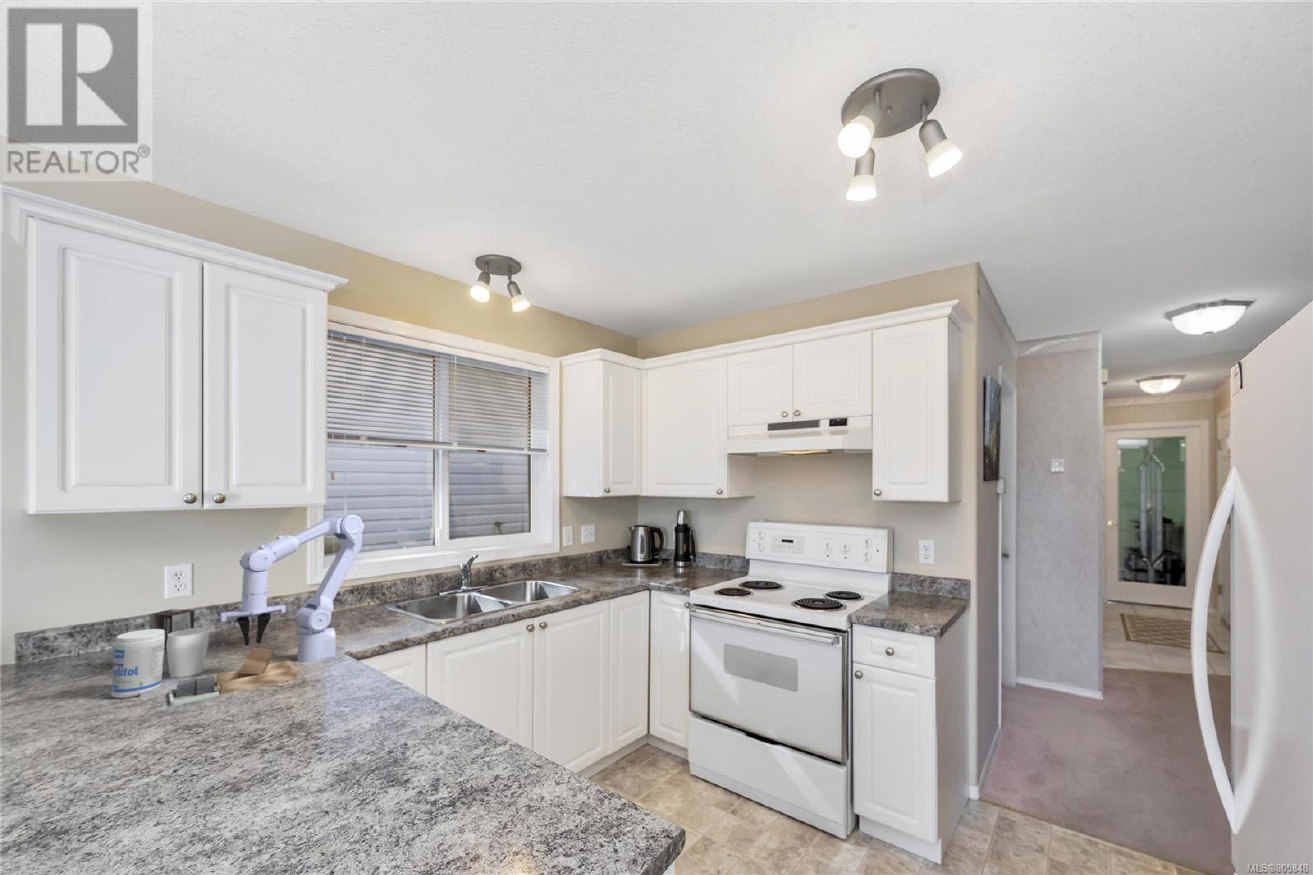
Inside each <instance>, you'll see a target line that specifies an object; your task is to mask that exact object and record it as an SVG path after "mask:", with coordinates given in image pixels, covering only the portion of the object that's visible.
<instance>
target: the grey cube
mask: <svg viewBox="0 0 1313 875" xmlns="http://www.w3.org/2000/svg"><path fill="white" fill-rule="evenodd" d="M215 680H216V677H215V675H213V676H206V677H201V678H197V684H196V693H195V696H200V695H204V694H209V693H214V692H215V686H216V685H215V683H216V681H215Z"/></svg>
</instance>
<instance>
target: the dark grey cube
mask: <svg viewBox="0 0 1313 875" xmlns="http://www.w3.org/2000/svg"><path fill="white" fill-rule="evenodd" d="M197 679H198V677H196V678H190V679H185V680H184V679H183V680H179V681H178V683H177V685H176V688H177V692H176V696H175V697H176V698H183V697H188V696H196V684H197Z"/></svg>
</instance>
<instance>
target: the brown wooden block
mask: <svg viewBox="0 0 1313 875" xmlns="http://www.w3.org/2000/svg"><path fill="white" fill-rule="evenodd" d="M273 653H274V649H273V648H260V647H251V649H250V651H249V653H248V654H247V657H246V658H245V660H244V662H243V664H242V666H241V668H240V669H239V670H240V671H239V673H238V679H239V678H244V677H249V676H254V675H259V674H264V672H265V670H266V668H267V666H268V664H270V663H271V662H270V661H271V660H272V657H273Z"/></svg>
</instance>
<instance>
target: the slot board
mask: <svg viewBox="0 0 1313 875" xmlns="http://www.w3.org/2000/svg"><path fill="white" fill-rule="evenodd" d="M291 664H292V662H291V661H290V660H285V661H279V662H276V663H275V662H274V663H269V664H268V666H267V668H266V670H265V672H264V674H259V675H254V676H249V677H244V678H239V679H238V673H239V671H240V669H238V670H233V671H228V672H223V673H219V674H216V681H215V683H216V685H215V686H216V687H217V689H218V691H219V695H226V694H231V693H234V692H239V691H244V690H245V691H246V690H249V689H253V688H258V687H263V686H267V685H272V684H277V683H281V682H286V681H291V680H296V679H297V678H298V677H297V676H298V675H297V674H298V669H297V667H296V666H294V667H291Z"/></svg>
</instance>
